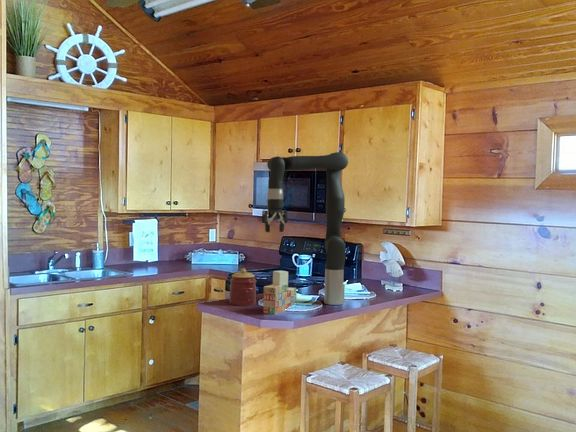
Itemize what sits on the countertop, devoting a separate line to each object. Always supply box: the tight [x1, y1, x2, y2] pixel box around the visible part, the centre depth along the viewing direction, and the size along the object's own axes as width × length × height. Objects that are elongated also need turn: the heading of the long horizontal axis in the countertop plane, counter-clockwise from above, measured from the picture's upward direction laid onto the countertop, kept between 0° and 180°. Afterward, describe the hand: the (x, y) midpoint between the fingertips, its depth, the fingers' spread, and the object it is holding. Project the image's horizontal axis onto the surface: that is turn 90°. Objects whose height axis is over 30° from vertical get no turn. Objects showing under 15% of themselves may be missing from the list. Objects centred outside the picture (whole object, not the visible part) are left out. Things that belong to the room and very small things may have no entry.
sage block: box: [272, 270, 289, 286], centre depth 255 cm, size 5×5×6 cm
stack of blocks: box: [262, 283, 298, 315], centre depth 257 cm, size 21×6×12 cm, turn 152°
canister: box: [228, 268, 257, 307], centre depth 267 cm, size 13×13×18 cm
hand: (274, 232), depth 266 cm, fingers open, 8 cm apart
